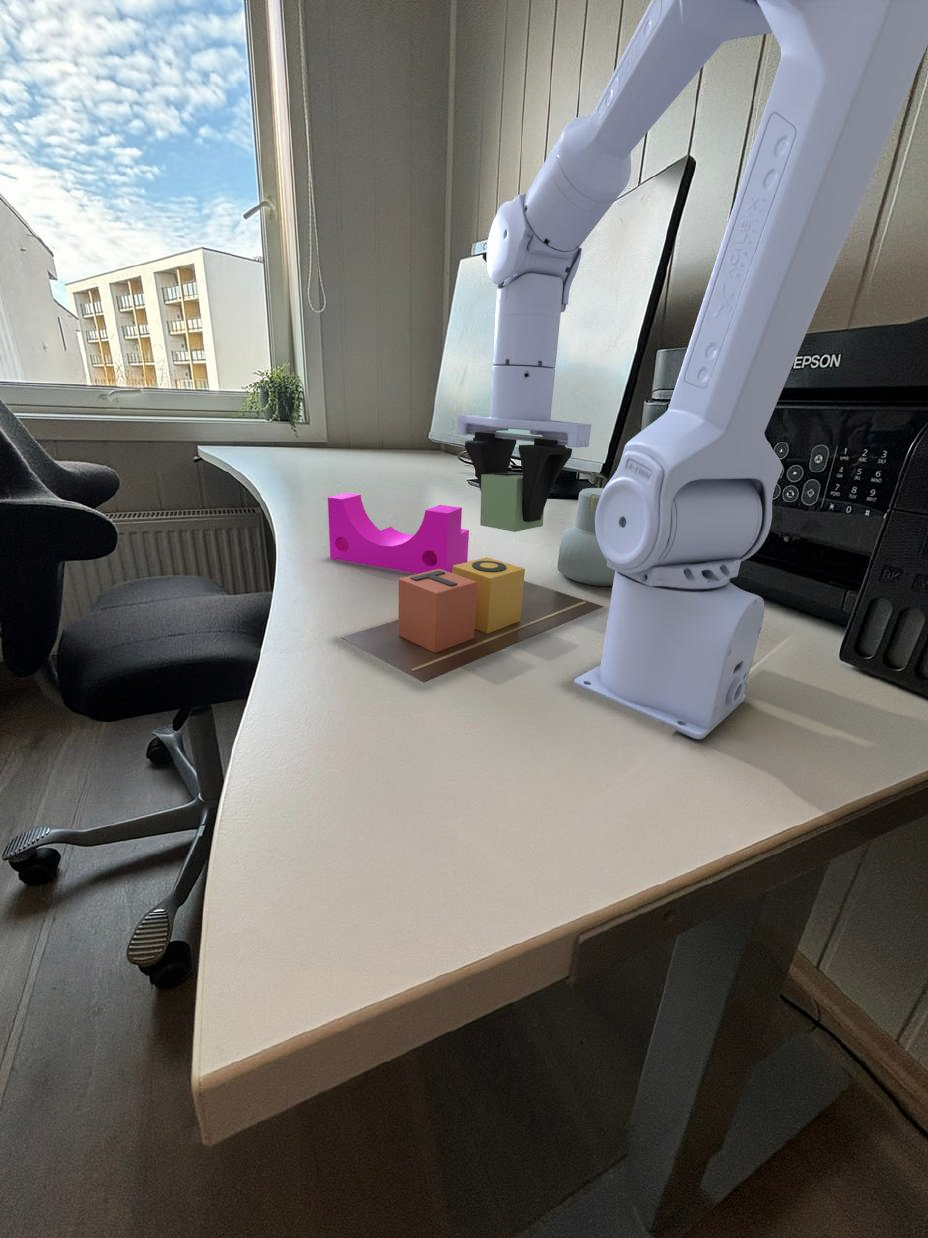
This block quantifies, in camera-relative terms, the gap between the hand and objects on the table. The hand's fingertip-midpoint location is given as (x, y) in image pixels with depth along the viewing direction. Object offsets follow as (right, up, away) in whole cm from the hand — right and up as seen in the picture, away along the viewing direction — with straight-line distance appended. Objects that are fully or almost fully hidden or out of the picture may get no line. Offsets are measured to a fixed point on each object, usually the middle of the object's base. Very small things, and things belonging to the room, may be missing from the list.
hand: (512, 516), depth 57 cm
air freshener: (+10, -6, +9) cm, 15 cm away
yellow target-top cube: (-3, -10, -6) cm, 12 cm away
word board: (-3, -11, -5) cm, 12 cm away
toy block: (-13, -4, +11) cm, 17 cm away
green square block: (0, -1, 0) cm, 1 cm away
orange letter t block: (-7, -12, -10) cm, 17 cm away
